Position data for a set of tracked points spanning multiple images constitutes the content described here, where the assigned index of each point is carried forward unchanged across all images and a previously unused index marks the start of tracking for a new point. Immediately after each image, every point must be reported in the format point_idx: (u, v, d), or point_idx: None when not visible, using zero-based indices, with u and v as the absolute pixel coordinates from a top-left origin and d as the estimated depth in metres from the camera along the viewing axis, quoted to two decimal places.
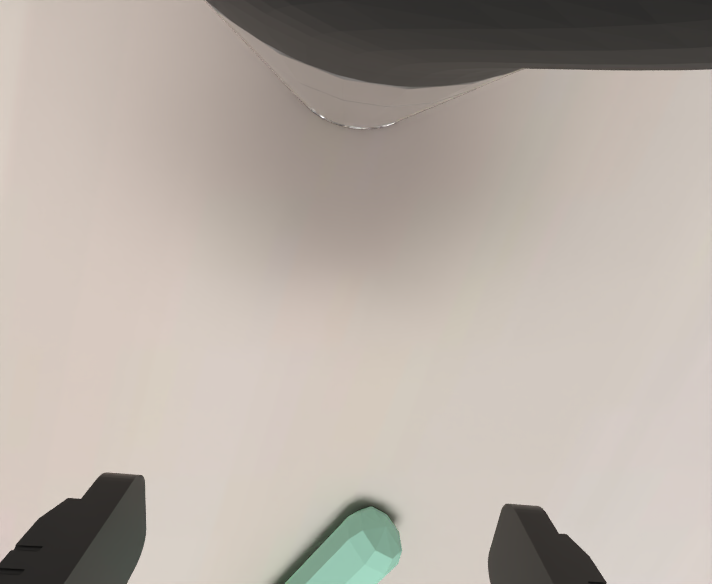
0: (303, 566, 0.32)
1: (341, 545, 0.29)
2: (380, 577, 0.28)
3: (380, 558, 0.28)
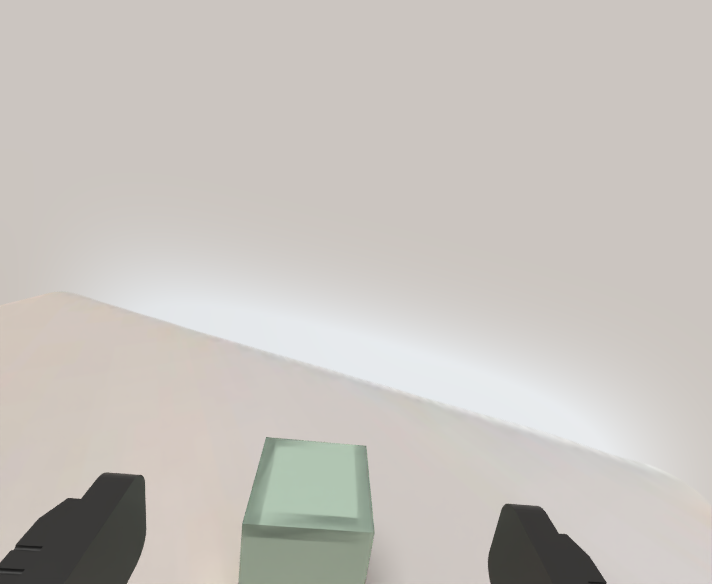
0: None
1: None
2: None
3: None
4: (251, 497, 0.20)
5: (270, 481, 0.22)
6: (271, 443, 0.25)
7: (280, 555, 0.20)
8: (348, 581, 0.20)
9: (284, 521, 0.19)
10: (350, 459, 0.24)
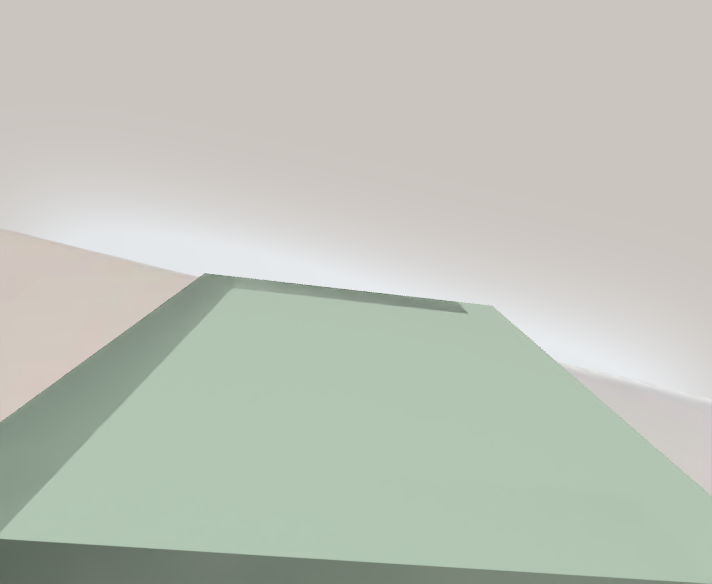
0: None
1: None
2: None
3: None
4: (54, 392, 0.04)
5: (180, 348, 0.05)
6: (217, 282, 0.08)
7: None
8: None
9: (206, 512, 0.03)
10: (465, 322, 0.08)
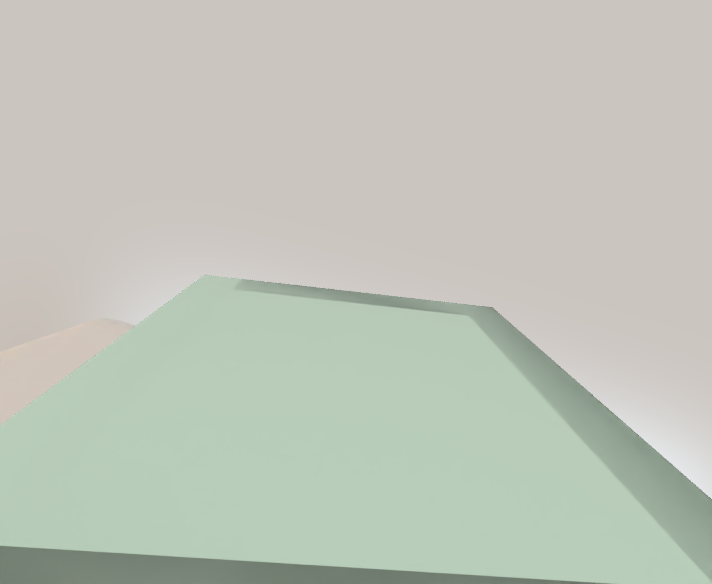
0: None
1: None
2: None
3: None
4: (52, 395, 0.04)
5: (180, 351, 0.05)
6: (216, 283, 0.08)
7: None
8: None
9: (204, 517, 0.03)
10: (465, 324, 0.08)
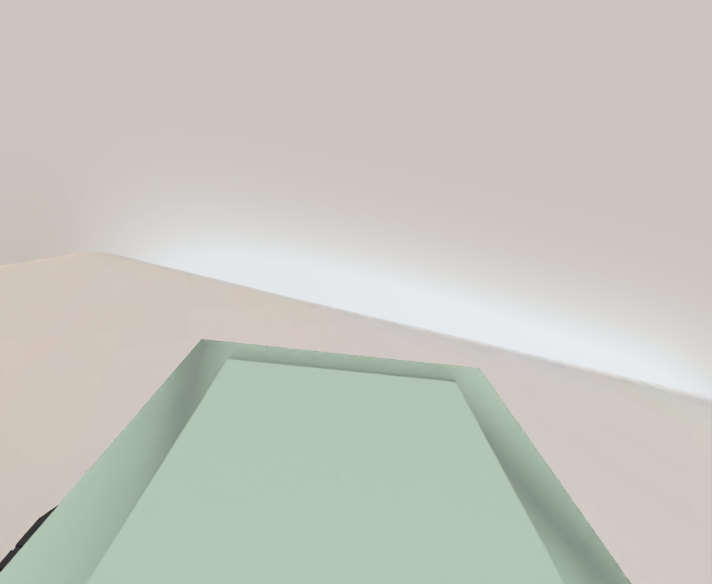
0: None
1: None
2: None
3: None
4: (55, 520, 0.04)
5: (174, 452, 0.05)
6: (213, 351, 0.08)
7: None
8: None
9: None
10: (451, 395, 0.08)
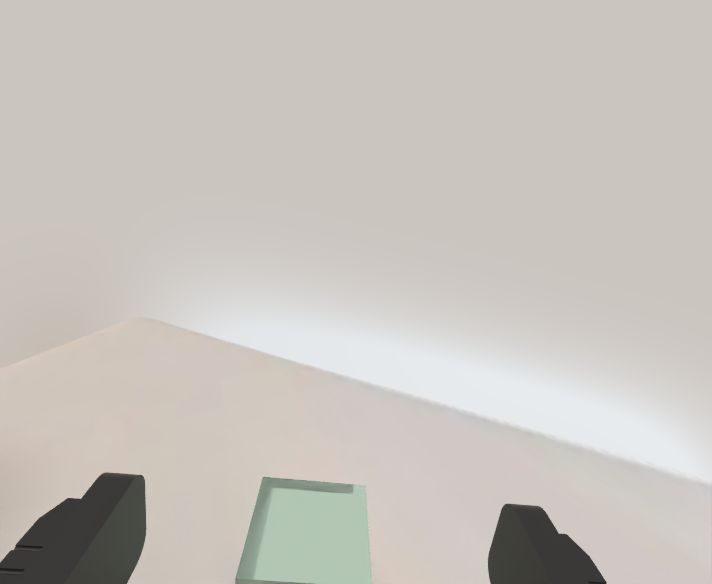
0: None
1: None
2: None
3: None
4: (245, 547, 0.20)
5: (266, 528, 0.21)
6: (268, 484, 0.24)
7: None
8: None
9: (279, 575, 0.19)
10: (349, 501, 0.23)
